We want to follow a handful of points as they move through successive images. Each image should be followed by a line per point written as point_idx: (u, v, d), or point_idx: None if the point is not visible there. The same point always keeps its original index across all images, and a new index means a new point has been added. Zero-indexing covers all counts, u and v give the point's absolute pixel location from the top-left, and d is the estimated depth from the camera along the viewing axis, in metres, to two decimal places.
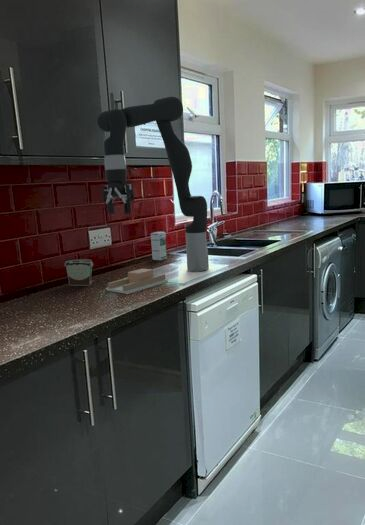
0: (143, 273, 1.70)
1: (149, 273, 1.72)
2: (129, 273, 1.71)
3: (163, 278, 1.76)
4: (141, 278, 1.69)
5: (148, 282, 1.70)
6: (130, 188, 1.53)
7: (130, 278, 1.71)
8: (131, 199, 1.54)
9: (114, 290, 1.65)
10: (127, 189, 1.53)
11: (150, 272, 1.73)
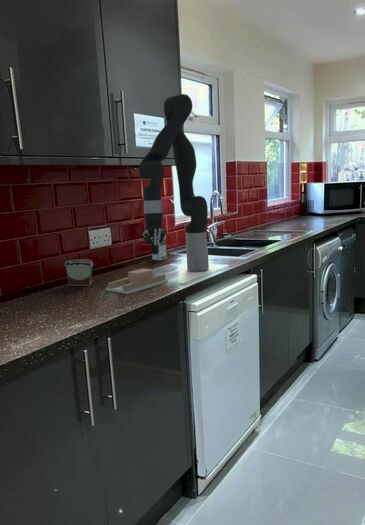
0: (143, 273, 1.70)
1: (149, 273, 1.72)
2: (129, 273, 1.71)
3: (163, 278, 1.76)
4: (141, 278, 1.69)
5: (148, 282, 1.70)
6: None
7: (130, 278, 1.71)
8: None
9: (114, 290, 1.65)
10: (164, 234, 1.81)
11: (150, 272, 1.73)
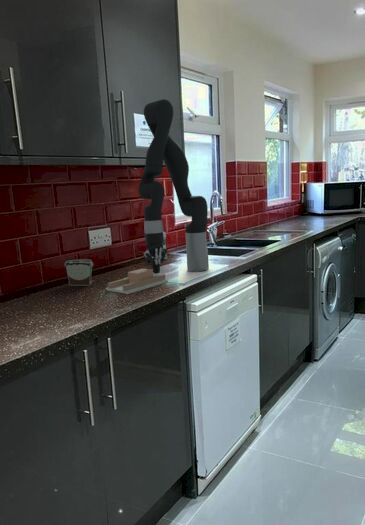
0: (143, 273, 1.70)
1: (149, 273, 1.72)
2: (129, 273, 1.71)
3: (163, 278, 1.76)
4: (141, 278, 1.69)
5: (148, 282, 1.70)
6: None
7: (130, 278, 1.71)
8: None
9: (114, 290, 1.65)
10: (165, 253, 1.82)
11: (150, 272, 1.73)
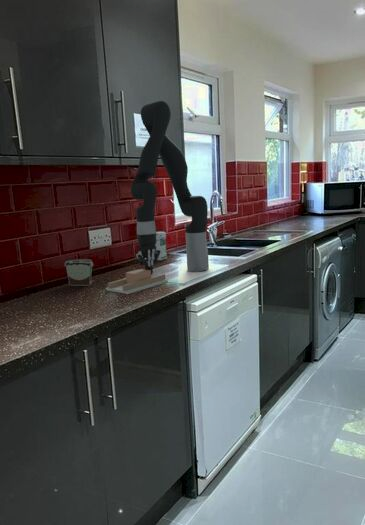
0: (141, 274, 1.69)
1: (146, 273, 1.71)
2: (127, 274, 1.70)
3: (163, 278, 1.76)
4: (139, 279, 1.68)
5: (148, 282, 1.70)
6: None
7: (128, 279, 1.70)
8: None
9: (114, 290, 1.65)
10: (158, 254, 1.78)
11: (148, 273, 1.72)
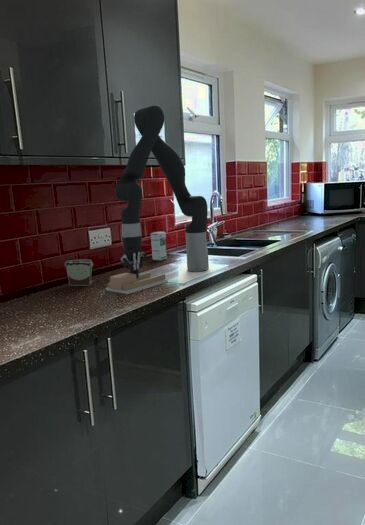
0: (125, 278, 1.63)
1: (131, 277, 1.65)
2: (111, 278, 1.64)
3: (163, 278, 1.76)
4: (123, 283, 1.62)
5: (148, 282, 1.70)
6: None
7: (112, 283, 1.64)
8: None
9: (114, 290, 1.65)
10: (144, 257, 1.72)
11: (133, 277, 1.66)
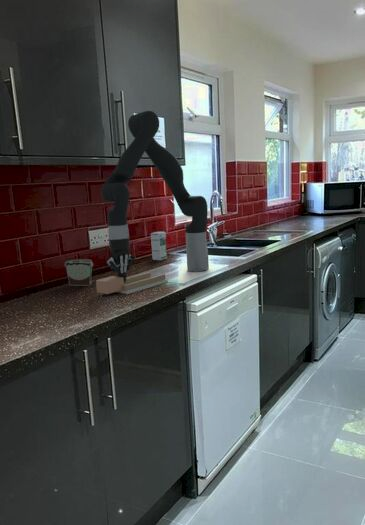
0: (112, 281, 1.58)
1: (118, 281, 1.60)
2: (97, 281, 1.59)
3: (163, 278, 1.76)
4: (110, 287, 1.57)
5: (148, 282, 1.70)
6: None
7: (98, 287, 1.59)
8: None
9: None
10: (132, 260, 1.67)
11: (120, 280, 1.61)
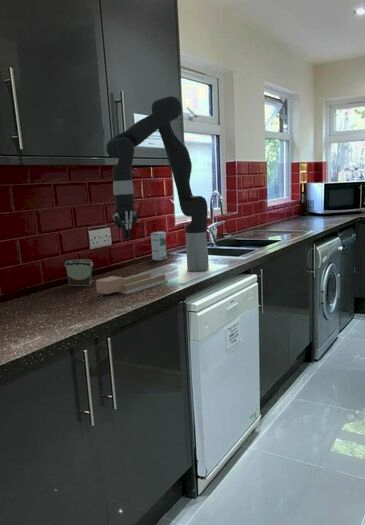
0: (112, 281, 1.58)
1: (118, 281, 1.60)
2: (97, 281, 1.59)
3: (163, 278, 1.76)
4: (110, 287, 1.57)
5: (148, 282, 1.70)
6: None
7: (98, 287, 1.59)
8: None
9: None
10: (137, 217, 1.68)
11: (120, 280, 1.61)
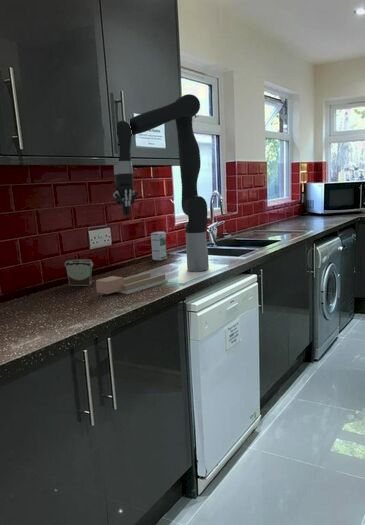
0: (112, 281, 1.58)
1: (118, 281, 1.60)
2: (97, 281, 1.59)
3: (163, 278, 1.76)
4: (110, 287, 1.57)
5: (148, 282, 1.70)
6: None
7: (98, 287, 1.59)
8: None
9: None
10: (135, 195, 1.83)
11: (120, 280, 1.61)
